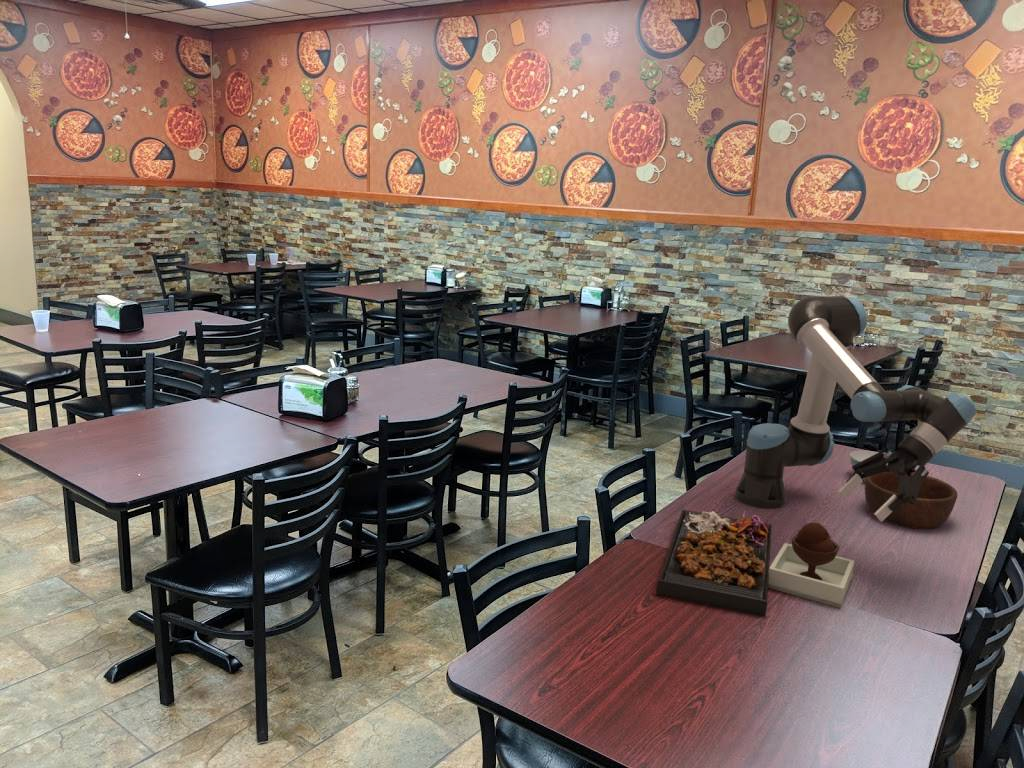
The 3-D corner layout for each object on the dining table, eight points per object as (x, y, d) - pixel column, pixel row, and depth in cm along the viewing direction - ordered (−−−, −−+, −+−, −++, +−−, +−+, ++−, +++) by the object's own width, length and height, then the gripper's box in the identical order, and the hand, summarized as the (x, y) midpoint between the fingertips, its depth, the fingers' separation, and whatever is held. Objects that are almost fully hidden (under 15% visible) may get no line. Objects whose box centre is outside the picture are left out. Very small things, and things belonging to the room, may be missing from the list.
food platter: (680, 523, 230) (684, 490, 227) (769, 539, 222) (774, 504, 220) (656, 597, 188) (660, 557, 186) (764, 619, 181) (770, 578, 178)
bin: (766, 587, 194) (769, 568, 193) (782, 560, 209) (784, 542, 207) (840, 608, 186) (843, 588, 185) (851, 578, 200) (854, 560, 199)
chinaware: (897, 478, 273) (901, 456, 271) (891, 491, 260) (895, 469, 259) (851, 468, 280) (854, 447, 279) (842, 480, 268) (846, 459, 266)
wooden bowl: (958, 539, 226) (965, 506, 224) (863, 524, 234) (869, 491, 231) (943, 507, 249) (949, 476, 247) (857, 494, 257) (862, 464, 254)
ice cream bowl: (838, 592, 191) (847, 534, 188) (789, 585, 193) (797, 528, 190) (830, 571, 201) (838, 516, 198) (784, 565, 203) (791, 511, 200)
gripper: (968, 473, 185) (902, 537, 185) (893, 438, 208) (834, 495, 208) (953, 453, 182) (886, 518, 182) (879, 420, 205) (819, 477, 205)
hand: (858, 506), depth 195 cm, fingers open, 13 cm apart
